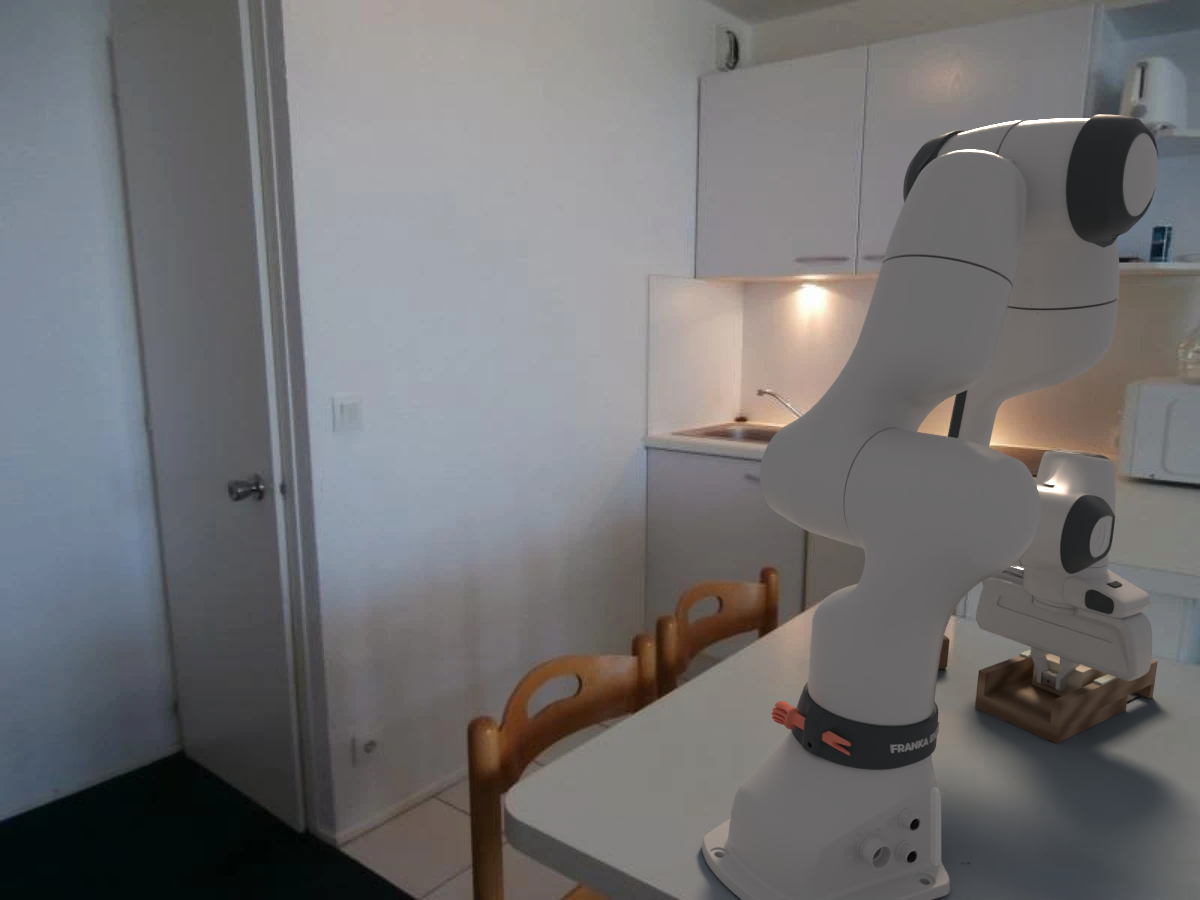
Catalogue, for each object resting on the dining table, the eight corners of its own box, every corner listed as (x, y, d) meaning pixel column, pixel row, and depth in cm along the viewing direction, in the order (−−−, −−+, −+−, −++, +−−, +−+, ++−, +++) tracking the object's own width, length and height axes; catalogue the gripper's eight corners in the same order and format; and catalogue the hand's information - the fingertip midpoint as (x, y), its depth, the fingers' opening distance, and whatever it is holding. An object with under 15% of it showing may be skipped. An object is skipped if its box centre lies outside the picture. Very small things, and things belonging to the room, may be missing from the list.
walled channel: (1056, 743, 98) (1061, 701, 97) (974, 707, 107) (978, 668, 106) (1152, 697, 111) (1158, 659, 110) (1072, 668, 119) (1076, 632, 118)
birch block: (1079, 702, 104) (1082, 672, 104) (1031, 684, 109) (1035, 655, 109) (1104, 691, 108) (1108, 661, 107) (1057, 674, 112) (1060, 645, 112)
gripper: (971, 561, 111) (961, 661, 113) (1139, 609, 94) (1123, 726, 96) (999, 554, 114) (989, 652, 116) (1166, 600, 97) (1150, 712, 100)
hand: (1051, 686), depth 106 cm, fingers closed, pressing on birch block
